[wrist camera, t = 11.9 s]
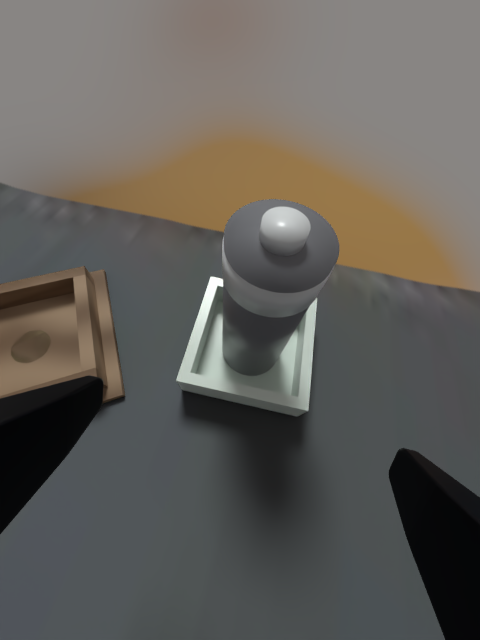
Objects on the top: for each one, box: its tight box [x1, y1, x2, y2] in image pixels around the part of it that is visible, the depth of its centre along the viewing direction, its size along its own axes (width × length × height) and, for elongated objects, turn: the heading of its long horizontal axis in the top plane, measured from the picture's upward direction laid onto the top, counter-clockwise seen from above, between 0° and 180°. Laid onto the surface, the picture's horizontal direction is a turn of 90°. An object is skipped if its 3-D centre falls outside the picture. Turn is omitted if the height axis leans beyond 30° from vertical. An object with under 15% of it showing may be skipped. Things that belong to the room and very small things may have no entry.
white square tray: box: [176, 277, 317, 417], centre depth 22 cm, size 10×10×3 cm
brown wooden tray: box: [0, 266, 125, 403], centre depth 21 cm, size 13×13×2 cm
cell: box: [222, 199, 339, 376], centre depth 16 cm, size 5×5×14 cm
